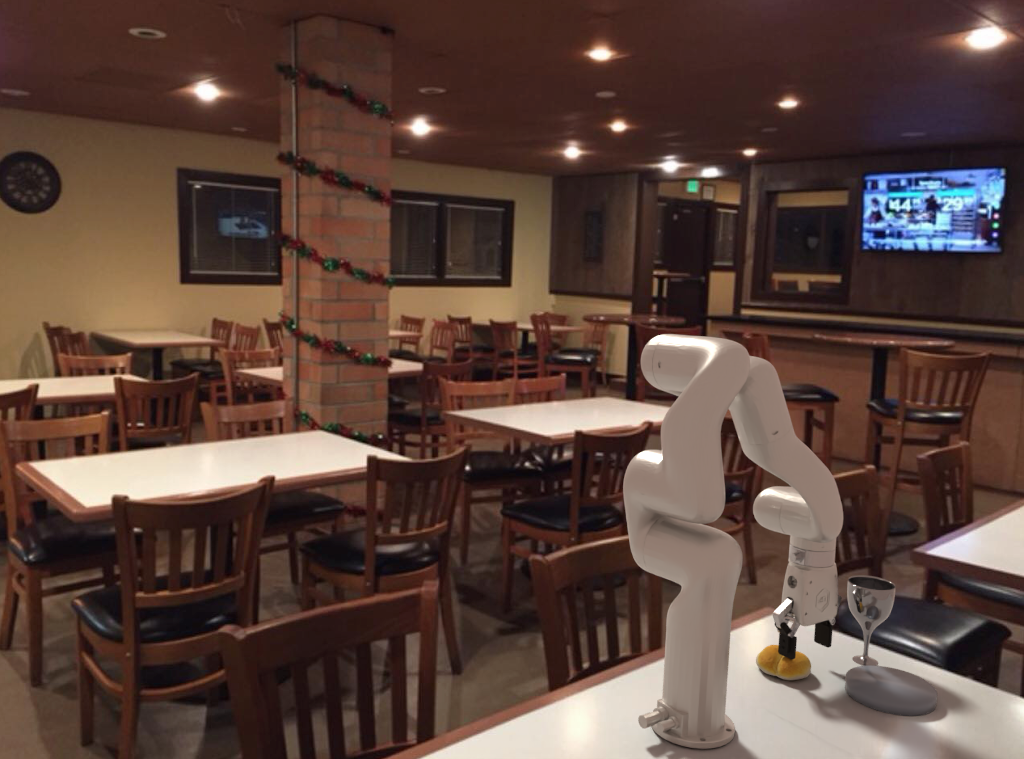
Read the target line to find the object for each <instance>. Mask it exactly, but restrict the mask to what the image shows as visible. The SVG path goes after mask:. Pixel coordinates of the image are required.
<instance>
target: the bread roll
mask: <svg viewBox="0 0 1024 759" xmlns="http://www.w3.org/2000/svg"><path fill="white" fill-rule="evenodd" d="M778 646H779V644H770V645H768V646H766V647H764V648H763V650H761V651H760V652H759V653H758V654H757V656H756V657H755V663H756V666H757V667H758V668H759V669H760V670H761V671H762V672H763V673H765V674H767V675H769V676H770V675H771V676H773V677H777V678H779V679H782V680H785V681H796V680H802V679H805V678H807V677H808V676H809V675H810V674H811V672H812V663H811V660H810V658H809V657H808V656H807V655H806V654H805V653H804V652H801V651H797V650H796V656H795V659H793V660H792V659H789V658H787V657H785V656H783V655H780V654H779V653H778Z"/></svg>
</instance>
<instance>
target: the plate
mask: <svg viewBox="0 0 1024 759" xmlns="http://www.w3.org/2000/svg"><path fill="white" fill-rule="evenodd" d="M844 689H845V692H846V694H848V696H849V697H851V699H853V700H854V701H856V702H857V703H859V704H860V705H861V704H862V705H863V706H865V707H868V708H870V709H873V710H875V711H879V712H882V713H886V714H891V715H897V716H903V717H904V716H905V717H908V716H909V717H916V716H917V717H918V716H924V715H925V716H926V715H927V714H930V713H932V712H934V711H935V710H936V707H937V702H938V700H937V699H938V691H937V688H935V686H934V685H933V684H932V683H931V682H929V681H928V680H926V679H924V677H923V678H922V677H920V676H919V675H916V674H913V673H912V672H909V671H905V670H902V669H898V668H894V667H890V666H881V665H877V666H863V665H860V666H856V667H852V668H850V669H849V670H847V671H846V674H845V682H844Z"/></svg>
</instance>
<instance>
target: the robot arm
mask: <svg viewBox="0 0 1024 759" xmlns="http://www.w3.org/2000/svg"><path fill="white" fill-rule="evenodd" d="M640 369H641V372H642V375H643V377H644V378H645V380H646V381H647V382H648V383H649V384H650V385H651V386H652V387H654V388H656V389H657V390H659V391H663V392H665V393H668V394H671V395H674V396H676V397H677V398H676V400H675V401H674V402H673V403H672V405H671V406H670V407H669V409H668V410H667V412H666V413H665V415H664V418H663V420H662V422H661V426H660V445H661V447H660V448H661V449H645V450H642V451H641V452H638V453H637V454H636V455H635V456H633V457H632V458H631V460H630V462H629V463H628V465H627V468H626V469H625V473H624V478H623V485H622V488H623V489H622V493H623V504H624V510H625V511H624V512H625V519H626V525H627V526H626V527H627V533H628V540H629V547H630V552H631V554H632V557H633V559H634V562H635V563H636V564H637V566H638V567H640V569H641V570H644V571H645V572H647V573H650V574H652V575H655V576H657V577H660V578H663V579H666V580H669V581H671V582H673V583H675V584H677V585H679V586H681V590H680V592H679V593H678V595H677V596H676V597H675V598H674V599H673V601H672V602H671V603H670V605H669V607H668V609H667V614H666V621H665V622H666V623H665V627H666V628H665V629H666V630H665V631H666V632H665V642H664V643H665V644H664V646H665V647H664V662H663V663H664V664H663V677H662V678H663V679H662V681H663V682H662V697H661V698H660V699H657V704H656V708H654V709H653V710H652V711H651V712H647V713H643V714H641V715H639V716H638V719H637V720H638V724H639V726H640V727H641V728H642V729H647V728H650V727H651V729H652V730H653V731H654V732H655V734H657V735H658V736H659V737H661V739H664V740H666V741H667V742H670V743H672V744H675V745H678V746H681V747H686V748H690V749H691V748H692V749H702V750H703V749H707V750H708V749H715V748H719V747H723V746H725V745H728V743H730V742H731V741H732V740H733V739H734V737H735V734H736V733H735V729H736V727H735V723H734V722H733V720H732V719H731V717H730V716H728V715H727V714H726V707H727V706H726V705H727V693H728V692H727V691H728V690H727V689H728V676H729V662H730V661H729V659H730V644H731V631H732V630H731V628H732V616H733V607H734V599H735V597H736V596H735V594H736V590H737V587H738V586H737V585H738V583H739V580H740V575H741V571H742V567H743V561H744V560H743V552H742V548H741V546H740V545H739V542H738V541H737V540H736V539H735V538H734V537H733V536H732V535H730V534H729V533H727V532H725V531H723V530H721V529H718V528H716V527H712V526H709V525H707V524H710V523H714V522H715V521H717V520H718V519H719V518H720V517H721V516H722V514H723V512H724V511H725V510H724V509H725V505H726V485H725V475H724V474H725V473H724V465H723V453H722V440H721V437H722V436H721V431H722V425H723V422H724V419H725V417H726V414H727V412H728V410H729V413H730V416H731V418H732V419H731V420H732V421H733V425H734V428H735V431H736V434H737V437H738V441H739V443H740V446H741V450H742V451H743V454H744V455H745V456H746V457H747V458H748V459H749V460H751V461H752V462H753V463H754V464H756V465H758V467H760V468H762V469H763V470H764V471H767V472H768V473H770V474H772V475H774V476H775V477H777V478H779V479H781V480H782V481H783V482H785V483H786V484H788V485H789V486H782V485H781V486H780V485H779V486H778V485H776V486H775V485H774V486H771V487H767V488H764V489H763V490H762V491H761V492H759V493H758V495H757V496H756V498H755V499H754V501H753V505H752V514H753V515H754V519H755V520H756V522H757V523H758V524H759V525H760V526H761V527H763V528H765V529H767V530H769V531H772V532H775V533H780V534H783V535H786V536H787V535H788V536H789V548H788V549H789V550H788V563H787V567H786V570H785V575H784V581H783V587H782V594H781V604H780V605H779V606H778V607H777V608H776V609H775V610H774V611H773V612H772V618H773V621H774V627H776V630H777V633H779V634H778V635H779V636H778V645H779V646H778V653H779V654H780V655H783V656H785V657H787V658H789V659H792V660H793V659H795V656H796V651H797V641H798V640H797V638H798V637H797V636H795V635H796V633H797V631H798V630H799V628H800V626H803V627H810V626H813V625H814V634H813V635H814V636H813V638H814V639H813V640H814V642H815V643H816V644H818V645H821V646H822V647H826V648H827V649H828V648H832V642H833V641H832V640H833V628H834V625H835V623H836V617H837V615H838V613H839V607H840V605H841V602H842V596H841V595H839V580H838V578H839V577H838V568H837V563H836V562H835V561H836V549H837V548H836V547H837V537H838V536H839V535H840V533H841V531H842V529H843V525H844V511H843V503H842V501H841V495H840V492H839V488H838V485H837V482H836V480H835V477H834V476H833V474H832V472H831V471H830V470H829V468H828V467H827V465H825V463H823V461H822V460H821V459H820V458H819V457H818V456H817V455H816V454H815V452H813V451H812V450H811V449H810V448H809V447H808V446H807V445H806V444H805V443H804V442H803V441H802V440H800V438H798V436H797V434H796V432H795V430H794V426H793V422H792V418H791V415H790V412H789V409H788V405H787V402H786V398H785V394H784V391H783V388H782V383H781V381H780V377H779V375H778V372H777V370H776V367H775V366H774V365H773V364H772V363H771V362H770V361H769V360H767V359H764V358H763V357H758V356H752V355H750V354H749V352H748V349H747V348H746V347H745V346H744V345H743V344H741V343H739V342H737V341H734V340H732V339H727V338H721V337H716V336H715V337H714V336H703V335H702V336H701V335H688V334H677V333H676V334H674V333H662V334H660V335H659V334H658V335H656V336H654V337H652V338H651V339H650V340H648V342H646V344H645V345H644V347H643V349H642V352H641V355H640ZM789 622H790V623H791V626H789V625H788V624H789Z"/></svg>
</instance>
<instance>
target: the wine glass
mask: <svg viewBox="0 0 1024 759" xmlns="http://www.w3.org/2000/svg"><path fill="white" fill-rule="evenodd" d="M846 590H847V592H846V594H847V596H846V597H847V603H848V608H849V611H850V612H851V614H852V616H853V617H854V618H855V620H856V621H857V622H858V624H859V625H860V627H861V630H862V634H863V652H862V655H854V656H853V657H852V658H851V659H852V661H853V662H854V663H855V664H858V665H860V666H879V661H878V660H877V659H876V658H873V657H871V656H870V655H869V647H870V642H871V636H872V633H873V632H874V631H875V629H876V628H877V627H878V626H880V625H881V624H882V623H884V622H885V620H887V619H888V617H890V615H891V612H892V610H893V606H894V603H895V597H896V596H895V595H896V584H895V583H894V582H893V581H890V580H889V579H888V580H887V579H886V578H881V577H878V576H874V575H873V576H872V575H865V574H864V575H863V574H862V575H861V574H859V575H851V576H849V577H848V579H847V589H846Z"/></svg>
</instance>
